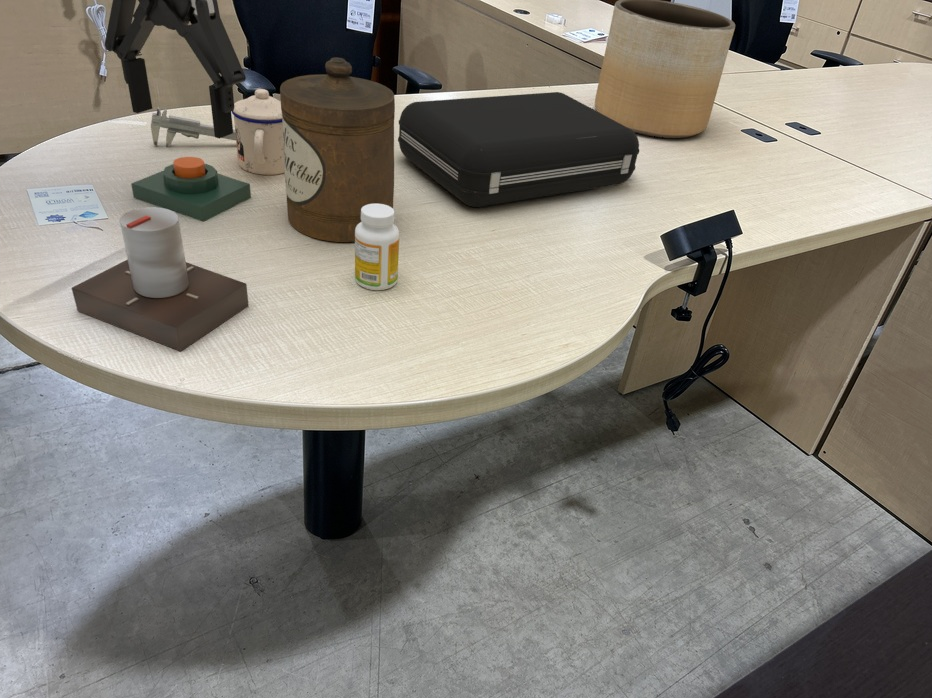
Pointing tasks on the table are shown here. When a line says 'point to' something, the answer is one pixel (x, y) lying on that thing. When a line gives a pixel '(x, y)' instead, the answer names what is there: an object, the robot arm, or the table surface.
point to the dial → (155, 251)
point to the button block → (192, 192)
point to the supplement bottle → (376, 248)
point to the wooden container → (336, 150)
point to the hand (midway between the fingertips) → (182, 122)
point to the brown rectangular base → (162, 305)
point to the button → (189, 167)
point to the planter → (662, 67)
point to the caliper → (180, 127)
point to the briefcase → (516, 146)
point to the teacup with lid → (259, 134)
